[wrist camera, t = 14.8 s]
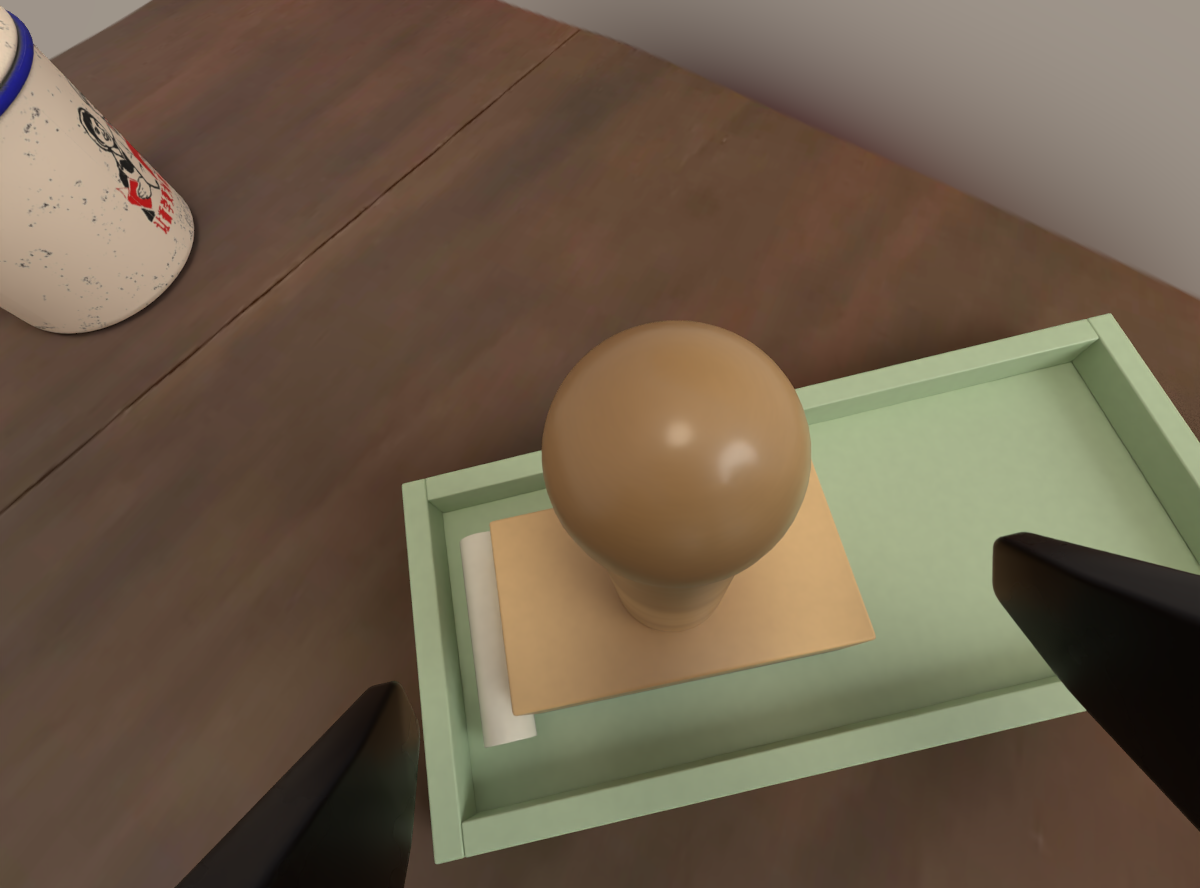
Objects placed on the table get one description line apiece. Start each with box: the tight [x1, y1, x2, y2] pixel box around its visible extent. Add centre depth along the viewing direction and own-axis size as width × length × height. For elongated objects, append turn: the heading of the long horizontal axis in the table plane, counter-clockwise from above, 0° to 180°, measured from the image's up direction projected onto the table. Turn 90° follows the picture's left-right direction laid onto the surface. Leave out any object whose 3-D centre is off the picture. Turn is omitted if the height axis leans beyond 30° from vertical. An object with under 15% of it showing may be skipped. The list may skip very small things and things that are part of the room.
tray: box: [402, 313, 1200, 864], centre depth 18 cm, size 24×11×2 cm, turn 103°
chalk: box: [459, 531, 537, 748], centre depth 18 cm, size 6×2×2 cm
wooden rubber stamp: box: [489, 320, 876, 716], centre depth 13 cm, size 9×5×14 cm, turn 101°
